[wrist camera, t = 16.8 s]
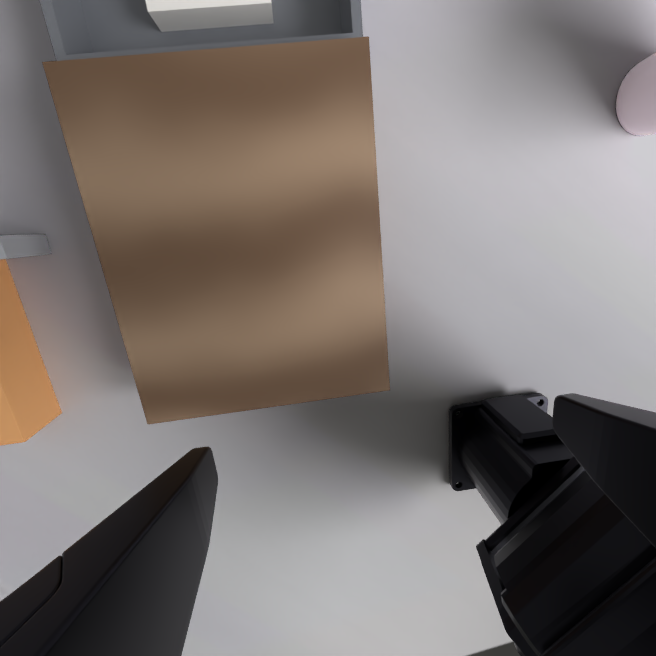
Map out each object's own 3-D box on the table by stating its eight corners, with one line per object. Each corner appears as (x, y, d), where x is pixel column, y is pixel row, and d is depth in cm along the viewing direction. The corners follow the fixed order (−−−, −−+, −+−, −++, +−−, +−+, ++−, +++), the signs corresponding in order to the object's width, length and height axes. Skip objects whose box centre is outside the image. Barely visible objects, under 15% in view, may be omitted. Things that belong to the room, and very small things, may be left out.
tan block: (372, 361, 21) (389, 390, 18) (174, 387, 21) (147, 424, 17) (351, 79, 17) (368, 36, 13) (101, 101, 16) (42, 62, 12)
